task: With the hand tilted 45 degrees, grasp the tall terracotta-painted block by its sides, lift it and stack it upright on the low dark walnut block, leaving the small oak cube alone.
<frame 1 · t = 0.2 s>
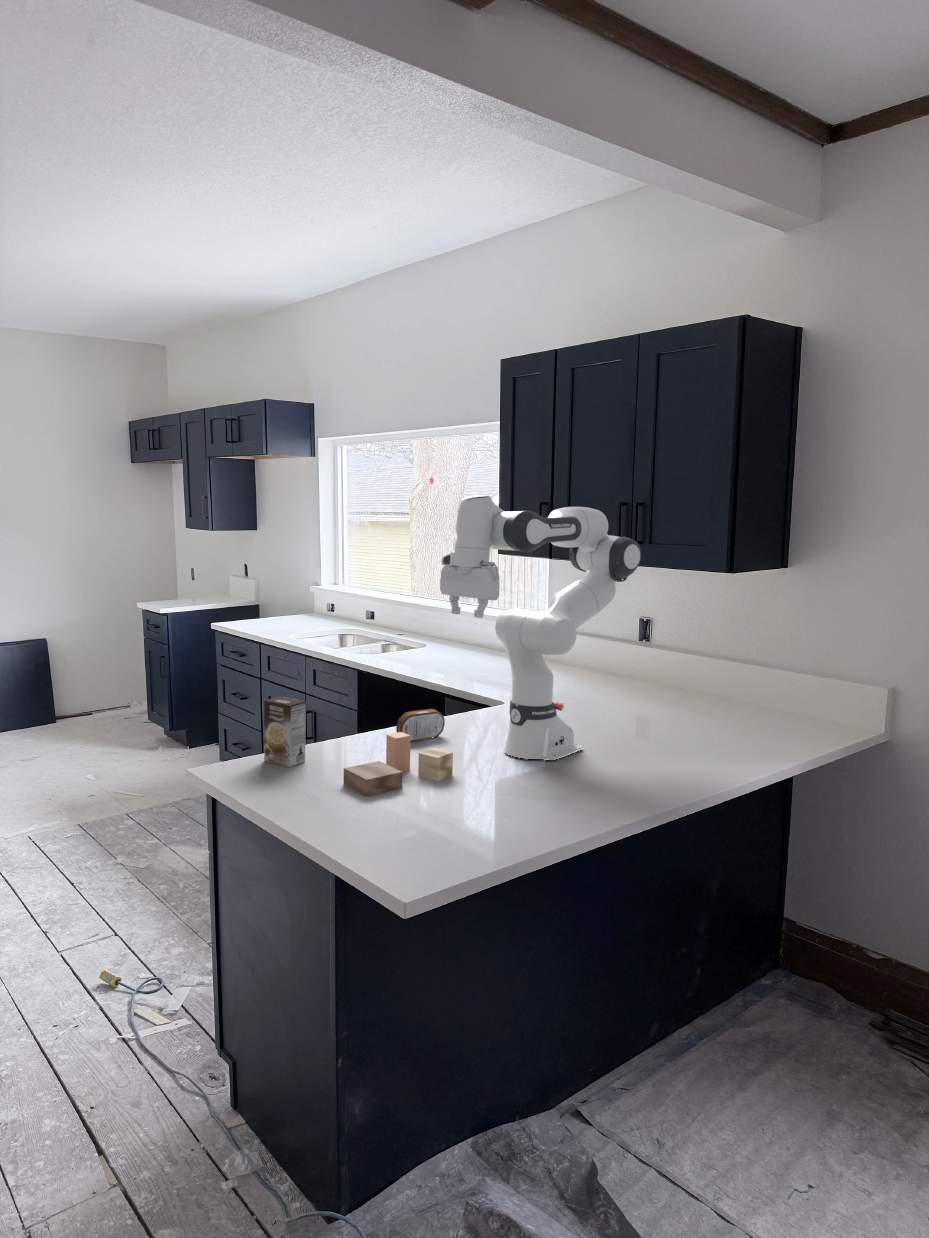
hand: (466, 615, 211), 39 cm above the worktop, tool pointing down, fingers open, 8 cm apart
tin: (420, 740, 241), on the worktop
walnut block: (372, 786, 201), on the worktop
terracotta block: (397, 769, 214), on the worktop
oak cube: (435, 776, 210), on the worktop
coffee box: (284, 762, 218), on the worktop
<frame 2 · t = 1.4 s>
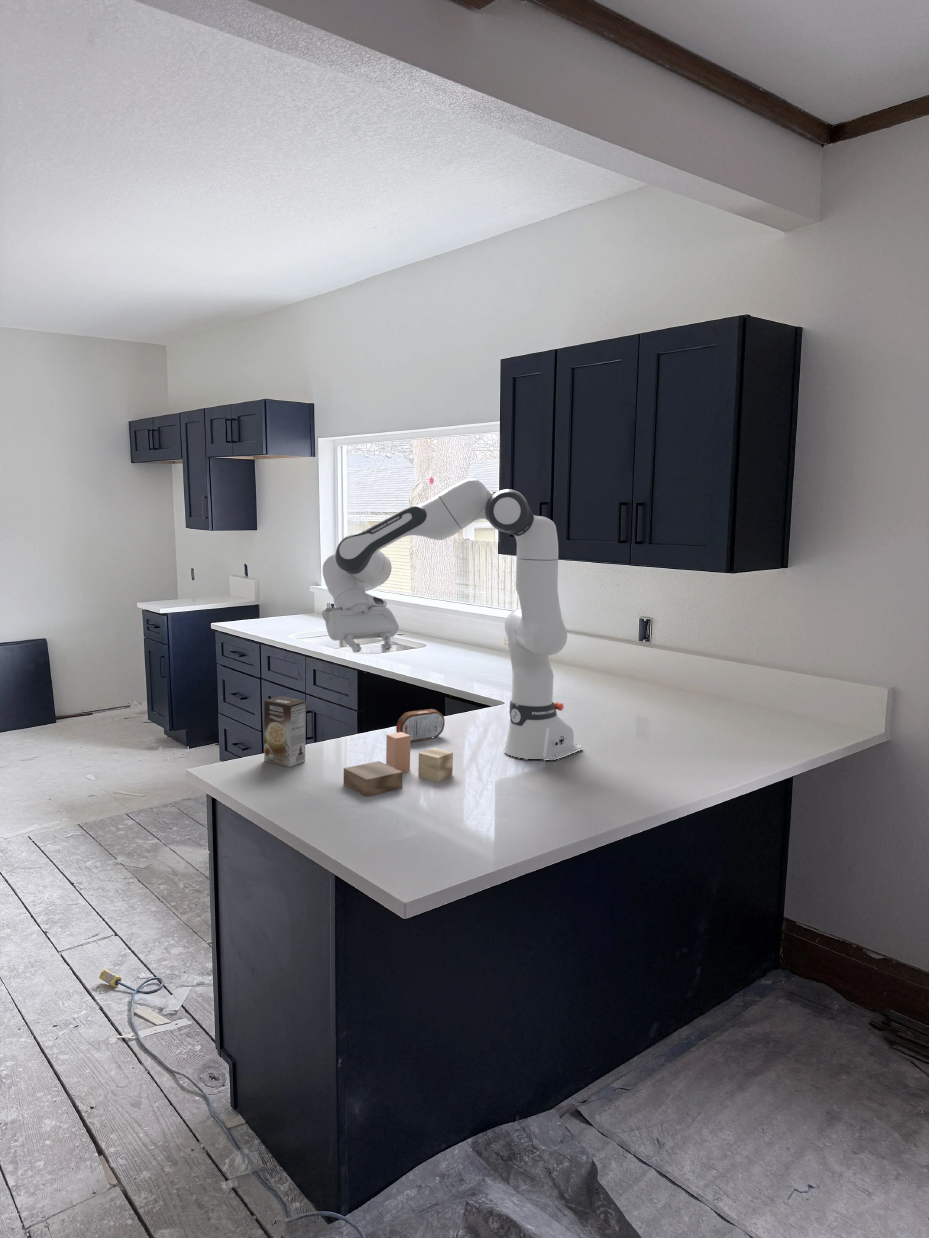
hand: (373, 650, 219), 29 cm above the worktop, tool tilted 45°, fingers open, 8 cm apart
nothing on the worktop moved.
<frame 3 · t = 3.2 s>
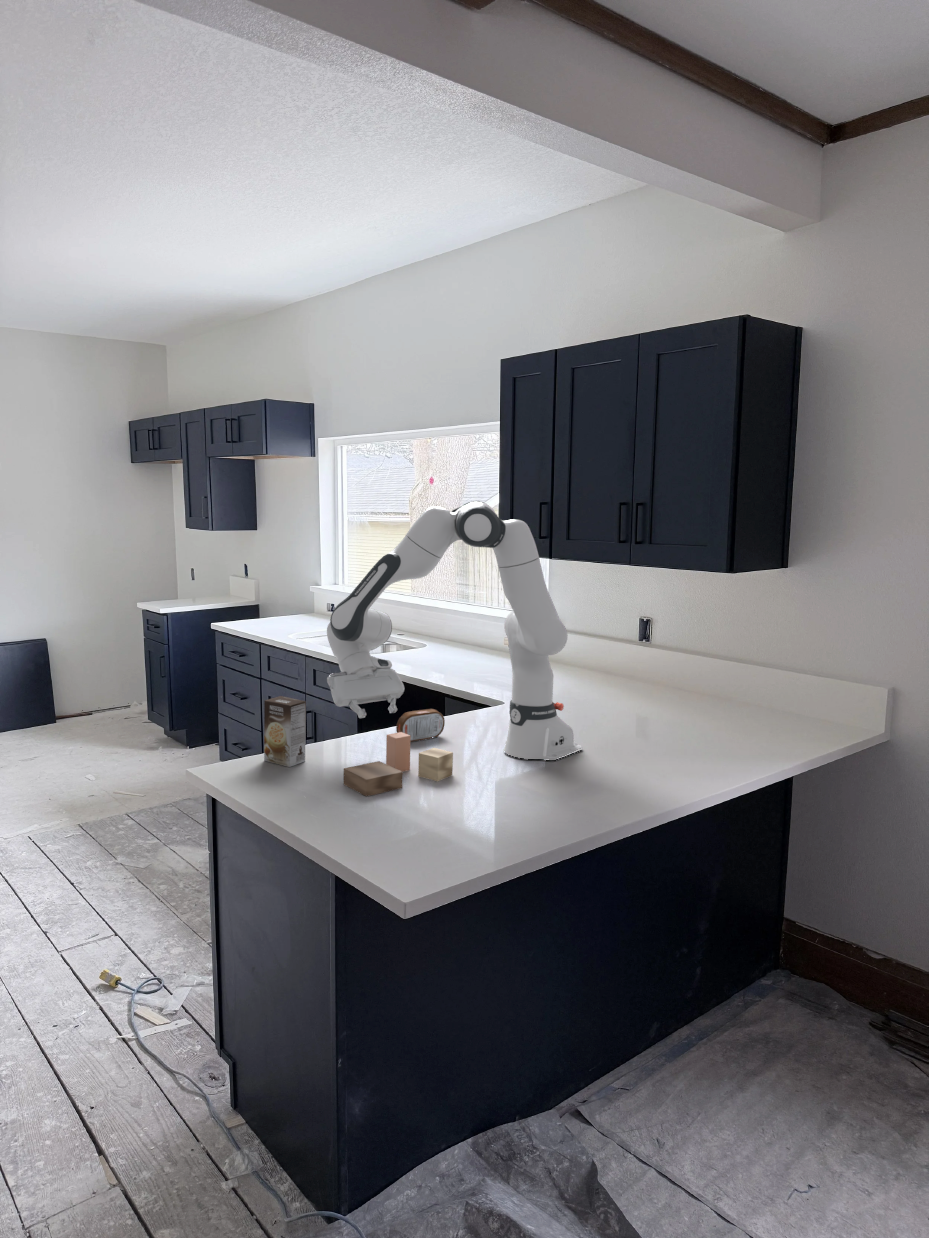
hand: (378, 714, 219), 12 cm above the worktop, tool tilted 45°, fingers open, 8 cm apart
nothing on the worktop moved.
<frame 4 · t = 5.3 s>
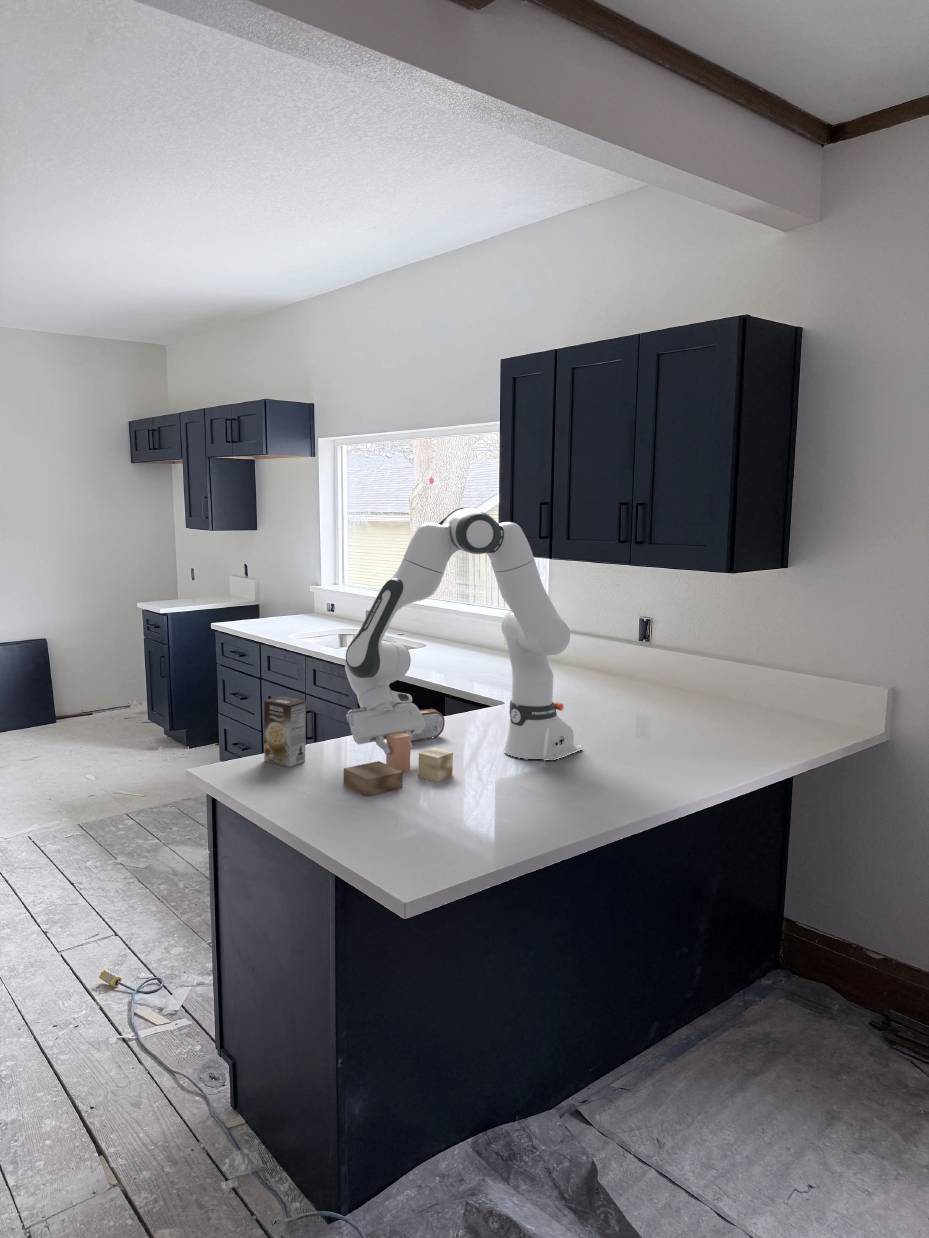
hand: (399, 751, 212), 5 cm above the worktop, tool tilted 45°, fingers closed on terracotta block, 4 cm apart
terracotta block: (397, 769, 214), on the worktop, touching gripper
everything else where it was.
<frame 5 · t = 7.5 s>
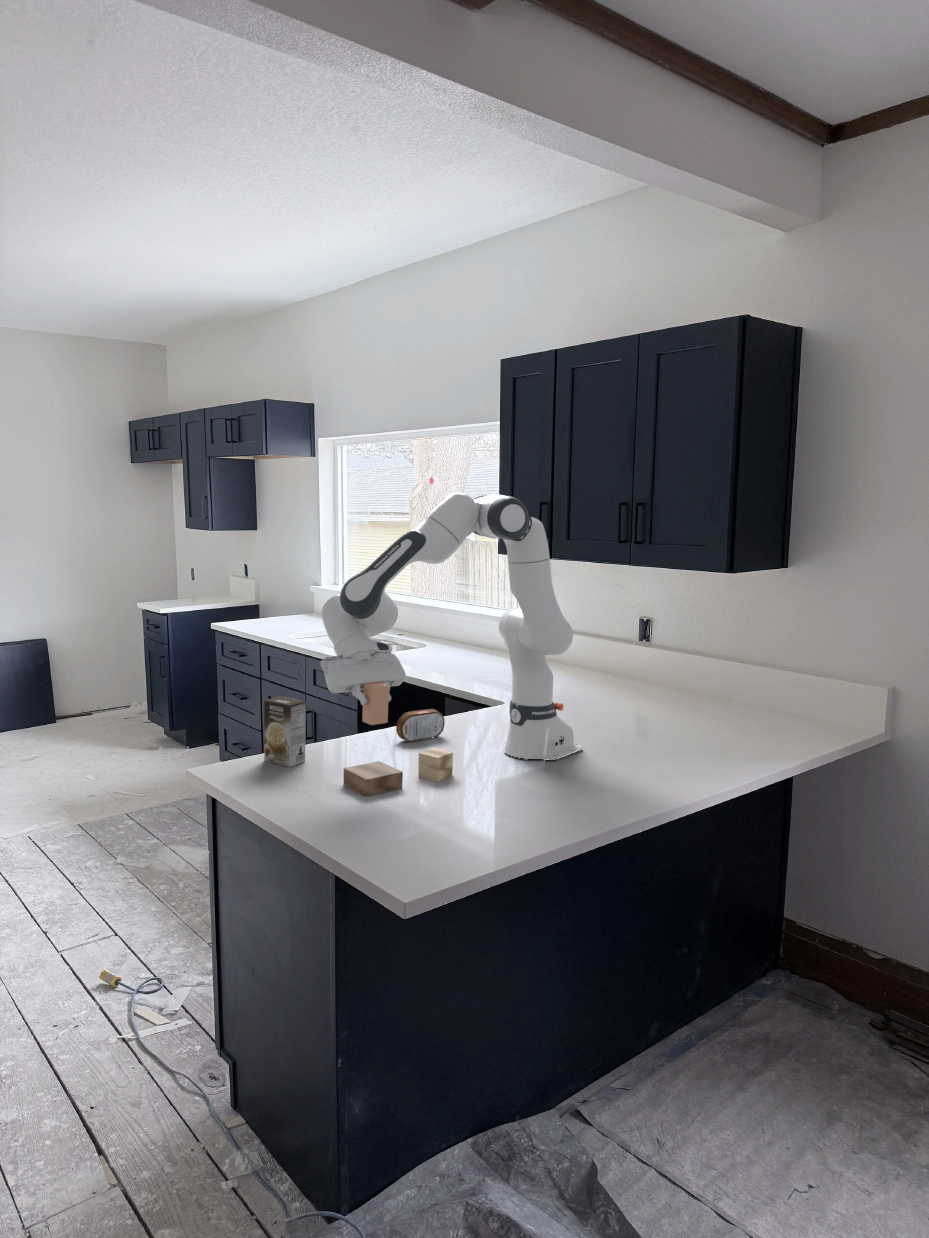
hand: (377, 702, 199), 20 cm above the worktop, tool tilted 45°, fingers closed on terracotta block, 4 cm apart
terracotta block: (375, 721, 200), point 15 cm above the worktop, touching gripper
everything else where it was.
when the fingers open (10 cm above the worktop, at t = 9.9 s): terracotta block stays where it is, resting on walnut block.
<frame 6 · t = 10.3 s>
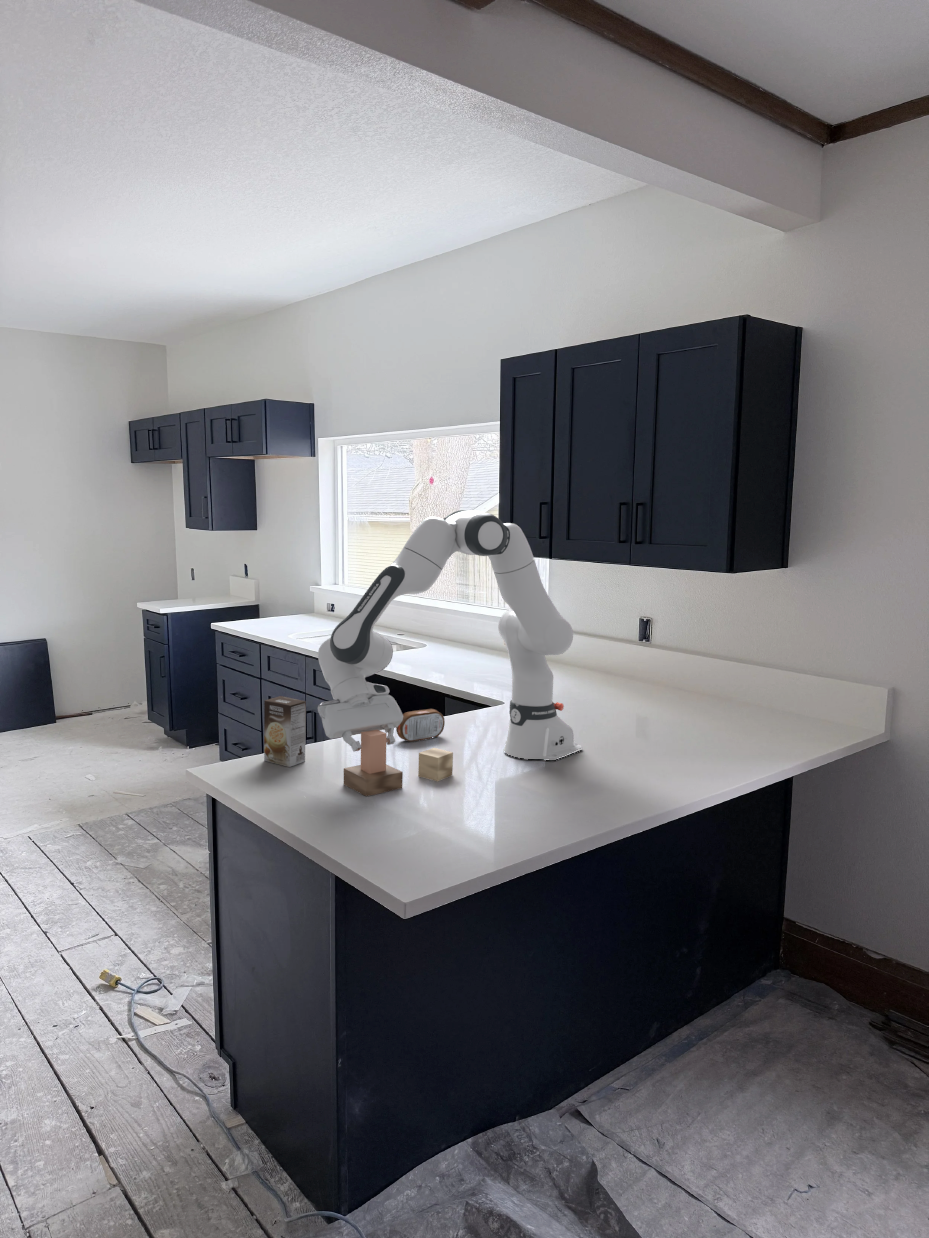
hand: (375, 746, 199), 10 cm above the worktop, tool tilted 45°, fingers open, 8 cm apart
terracotta block: (373, 769, 200), point 4 cm above the worktop, touching walnut block
everything else where it was.
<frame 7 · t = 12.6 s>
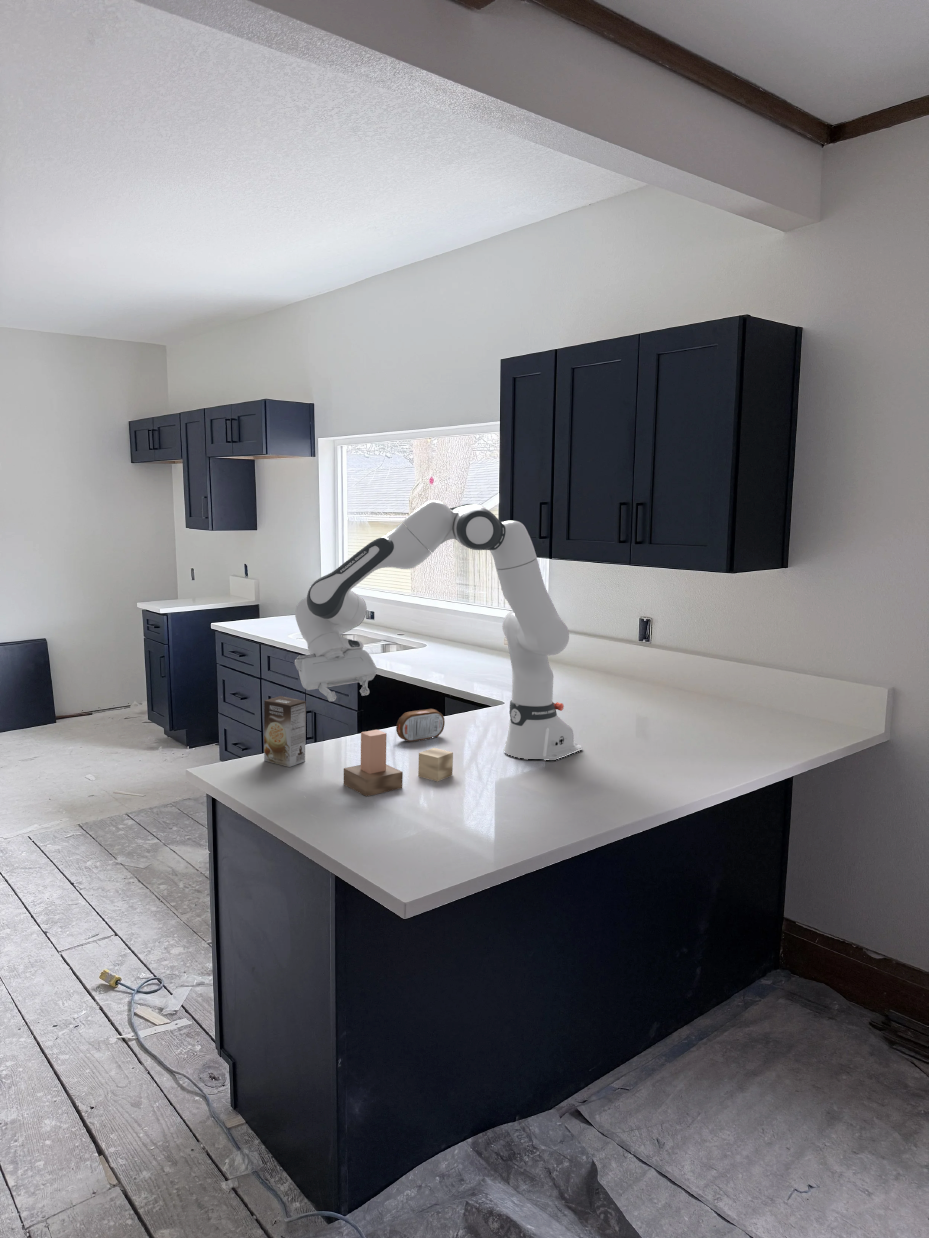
hand: (349, 697, 210), 19 cm above the worktop, tool tilted 45°, fingers open, 8 cm apart
nothing on the worktop moved.
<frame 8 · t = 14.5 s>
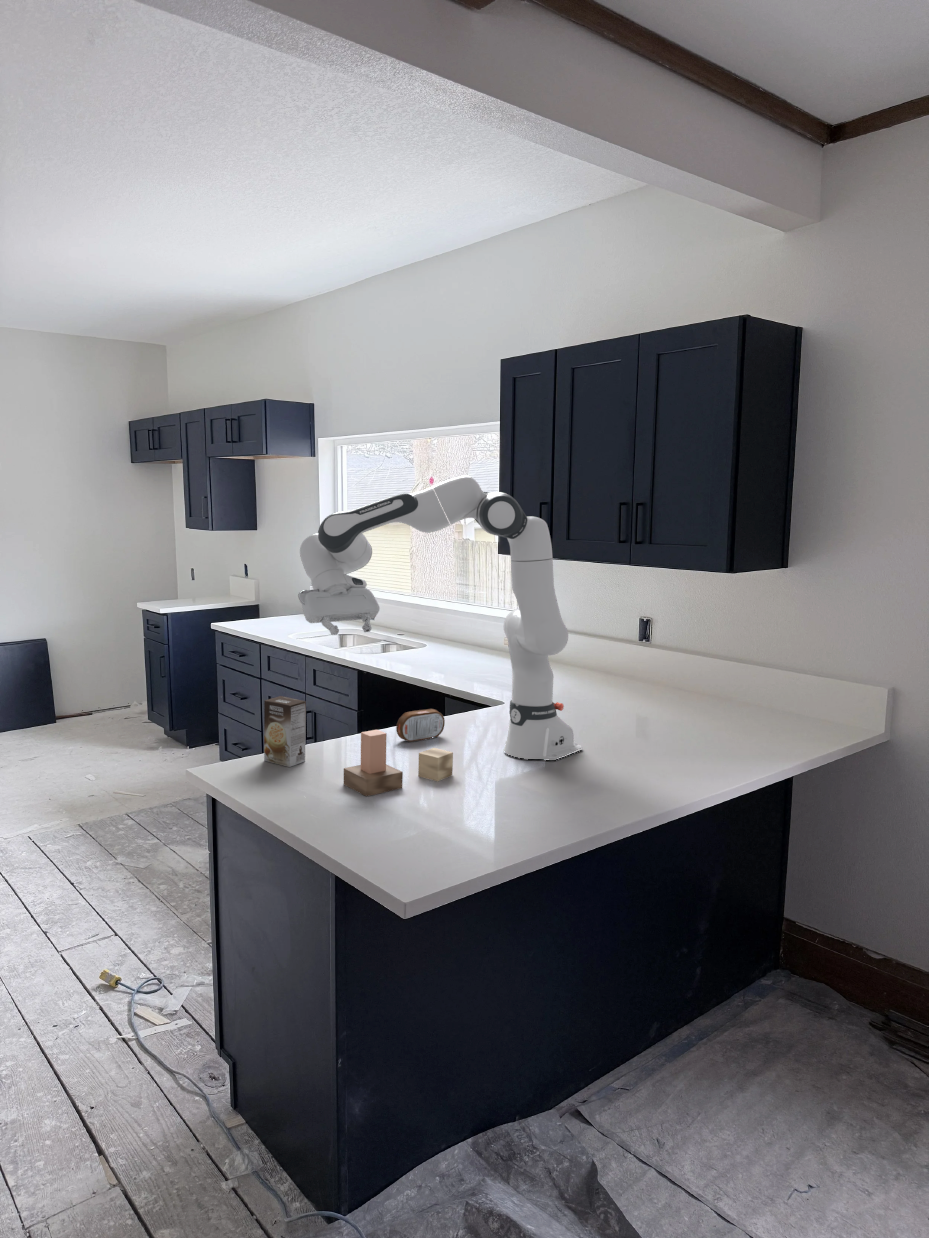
hand: (352, 632, 211), 34 cm above the worktop, tool tilted 45°, fingers open, 8 cm apart
nothing on the worktop moved.
at the end: terracotta block inside the target area on the walnut block (0.1 cm from its centre), point 4.0 cm above the walnut block's base; terracotta block tilted 0°; the gripper is holding nothing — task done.
